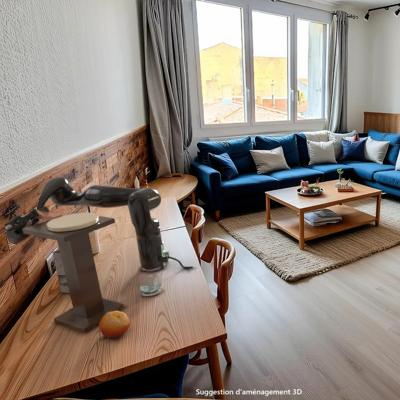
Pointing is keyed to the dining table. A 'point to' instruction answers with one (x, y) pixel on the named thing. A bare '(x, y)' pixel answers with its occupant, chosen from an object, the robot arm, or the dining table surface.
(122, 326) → the fruit
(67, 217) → the table tennis paddle
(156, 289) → the clear glass cup
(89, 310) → the shelf stand
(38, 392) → the dining table surface
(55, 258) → the coffee box
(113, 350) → the dining table surface
